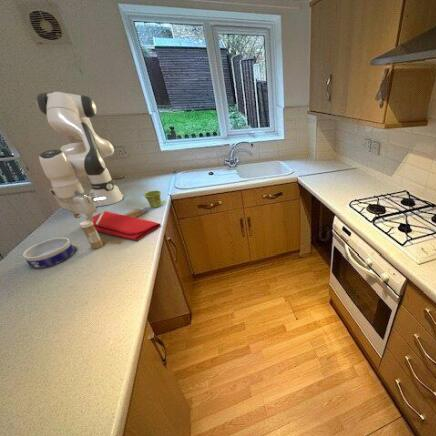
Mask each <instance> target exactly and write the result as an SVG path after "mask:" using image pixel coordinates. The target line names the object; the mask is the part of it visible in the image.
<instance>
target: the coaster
mask: <svg viewBox="0 0 436 436" xmlns="http://www.w3.org/2000/svg"><path fill="white" fill-rule="evenodd" d="M146 213H147V211H146V210H141V209H137V208H136V209H134V210H132V211H129V212H128V213H125V214H123V215H124V216H129V217H133V218H138V217H139V216H142V215H144V214H146Z"/></svg>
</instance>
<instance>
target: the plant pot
mask: <svg viewBox="0 0 436 436" xmlns="http://www.w3.org/2000/svg"><path fill="white" fill-rule="evenodd" d="M143 197H145V199H146V200H147V202H148V204H149V206H150V207H151V208H152V209H156V208H159V207H161V206H162V205H163V204H162V203H163V202H162V198H161V191H160V190H150V191H147V192H145V193H144V194H143Z"/></svg>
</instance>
